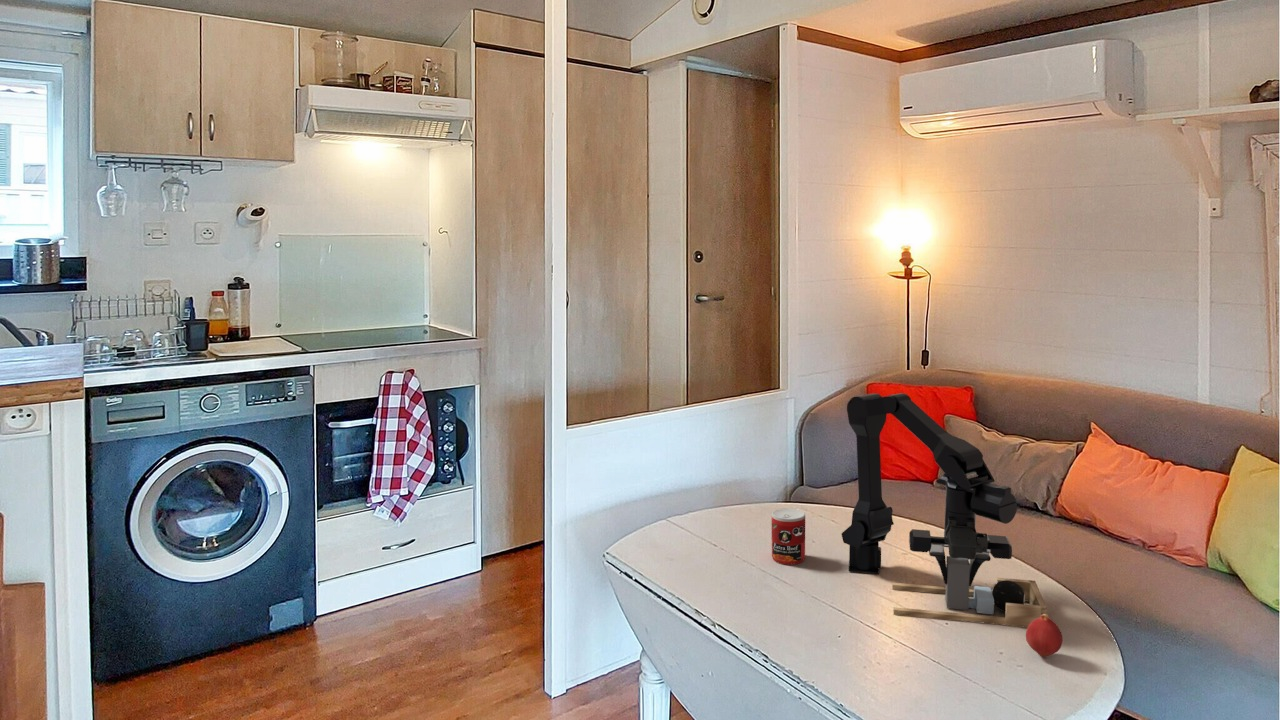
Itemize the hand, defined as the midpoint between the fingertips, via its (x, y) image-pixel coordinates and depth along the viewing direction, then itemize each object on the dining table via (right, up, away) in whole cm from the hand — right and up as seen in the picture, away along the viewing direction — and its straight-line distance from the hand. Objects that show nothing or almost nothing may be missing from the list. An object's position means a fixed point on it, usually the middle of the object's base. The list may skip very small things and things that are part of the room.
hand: (957, 584), depth 166 cm
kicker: (+2, -4, 0) cm, 5 cm away
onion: (+7, -8, -20) cm, 23 cm away
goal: (+11, -5, -2) cm, 13 cm away
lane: (-2, -4, +1) cm, 5 cm away
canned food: (-29, -2, +27) cm, 40 cm away
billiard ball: (+9, -5, -2) cm, 11 cm away
